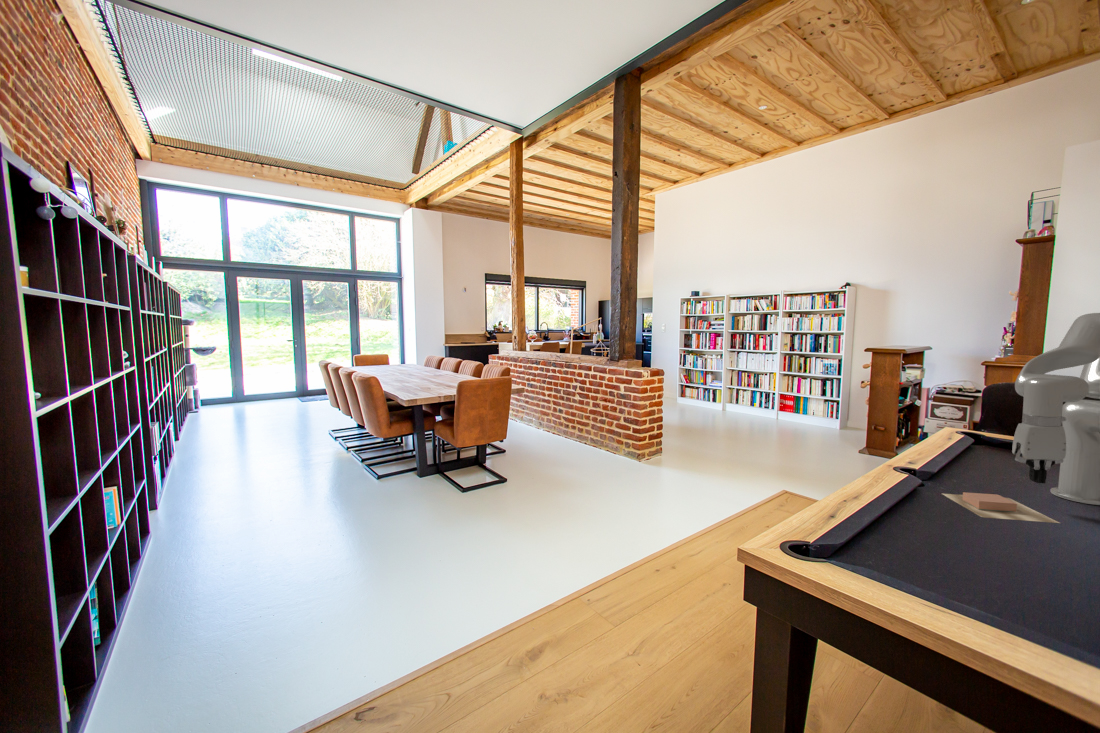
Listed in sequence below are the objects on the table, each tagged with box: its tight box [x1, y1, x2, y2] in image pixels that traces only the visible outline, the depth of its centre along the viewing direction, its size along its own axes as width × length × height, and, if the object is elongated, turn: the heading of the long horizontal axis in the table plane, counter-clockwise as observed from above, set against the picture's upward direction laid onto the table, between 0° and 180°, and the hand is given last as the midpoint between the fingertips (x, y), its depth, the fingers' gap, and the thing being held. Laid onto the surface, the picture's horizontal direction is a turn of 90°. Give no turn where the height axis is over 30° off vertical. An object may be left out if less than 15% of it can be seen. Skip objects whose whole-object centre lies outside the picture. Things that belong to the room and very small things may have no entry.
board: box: [941, 493, 1061, 524], centre depth 129 cm, size 18×18×1 cm
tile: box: [962, 491, 1017, 512], centre depth 130 cm, size 3×7×9 cm
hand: (1037, 481), depth 127 cm, fingers closed
